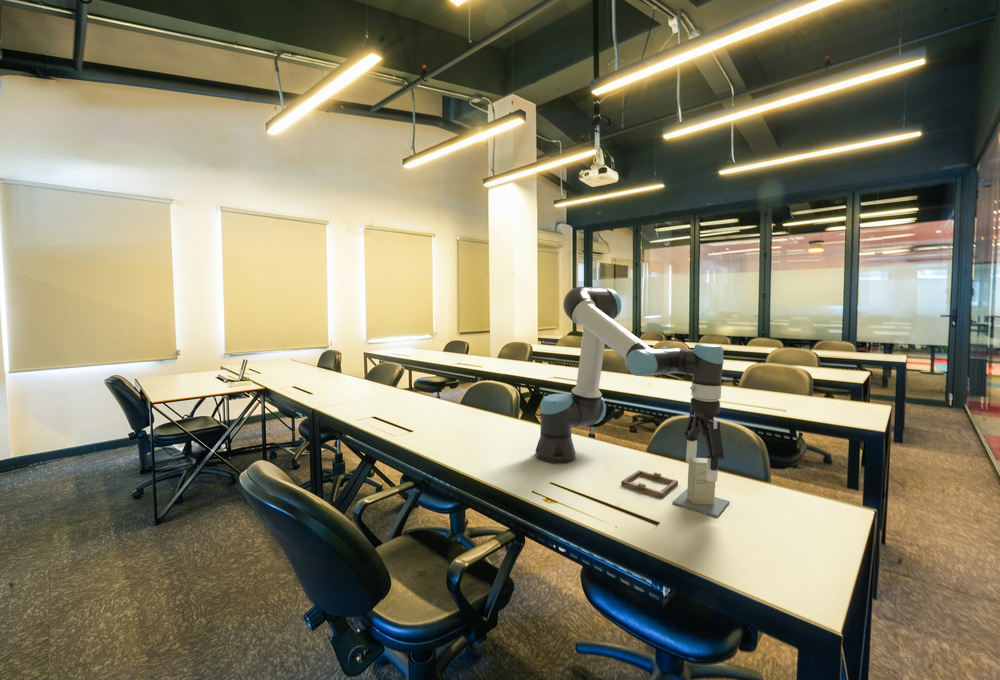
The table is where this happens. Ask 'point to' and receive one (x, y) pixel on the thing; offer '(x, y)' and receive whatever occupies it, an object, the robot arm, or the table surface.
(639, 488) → the collar
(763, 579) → the table surface
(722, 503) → the mat
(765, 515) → the table surface
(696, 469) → the skincare box
